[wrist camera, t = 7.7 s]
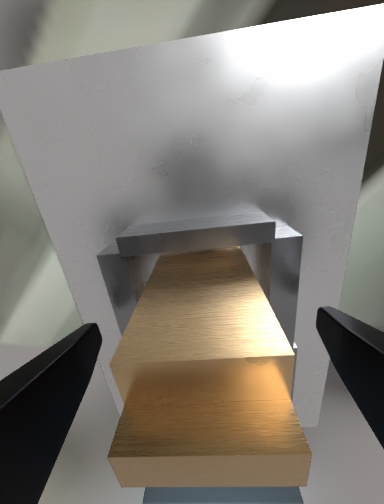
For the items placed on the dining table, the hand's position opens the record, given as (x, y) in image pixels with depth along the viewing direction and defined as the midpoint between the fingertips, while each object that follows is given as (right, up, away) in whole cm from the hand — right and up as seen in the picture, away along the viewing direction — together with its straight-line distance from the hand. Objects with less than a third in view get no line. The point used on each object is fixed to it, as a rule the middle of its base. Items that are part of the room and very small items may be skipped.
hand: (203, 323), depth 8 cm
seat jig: (0, 0, +4) cm, 4 cm away
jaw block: (0, +1, +2) cm, 3 cm away
